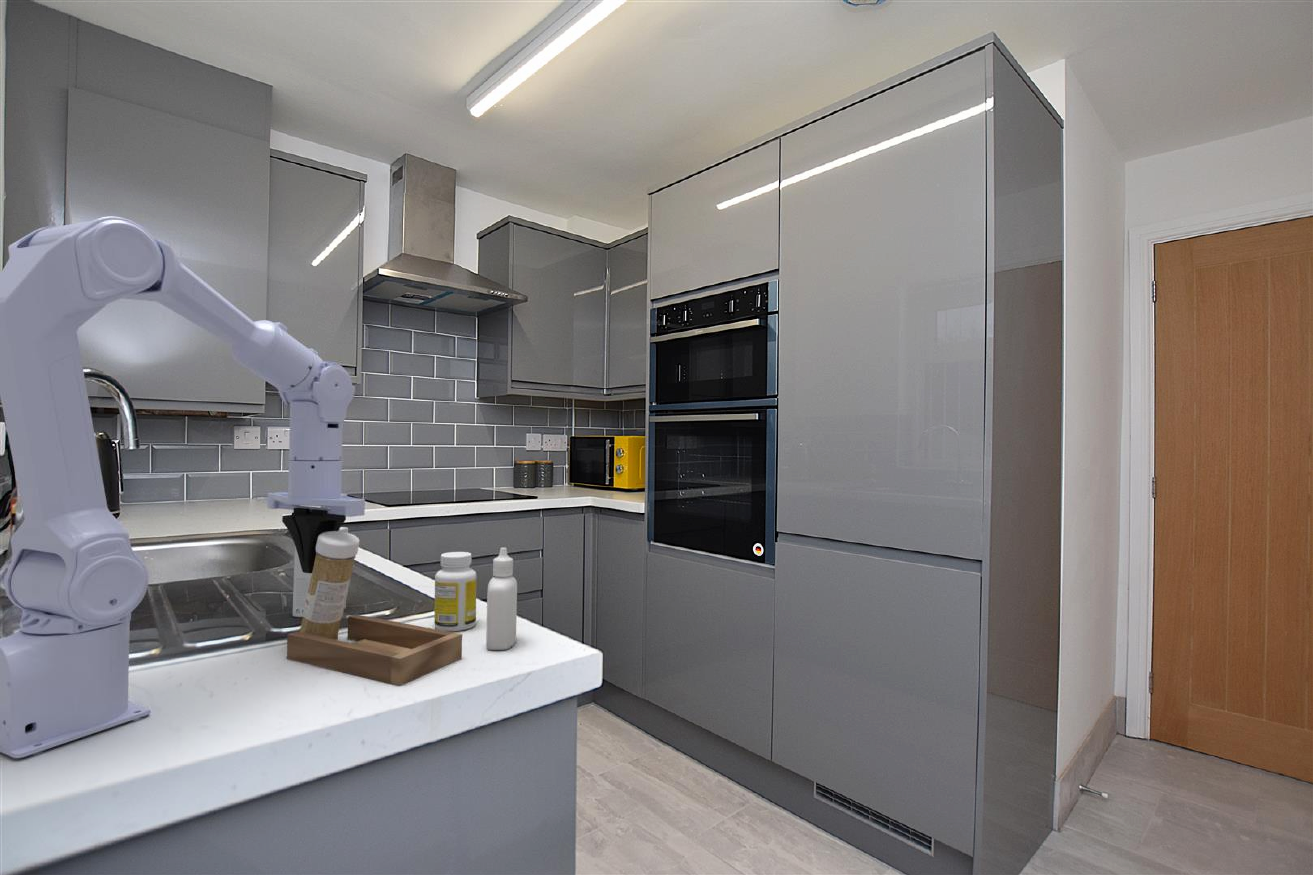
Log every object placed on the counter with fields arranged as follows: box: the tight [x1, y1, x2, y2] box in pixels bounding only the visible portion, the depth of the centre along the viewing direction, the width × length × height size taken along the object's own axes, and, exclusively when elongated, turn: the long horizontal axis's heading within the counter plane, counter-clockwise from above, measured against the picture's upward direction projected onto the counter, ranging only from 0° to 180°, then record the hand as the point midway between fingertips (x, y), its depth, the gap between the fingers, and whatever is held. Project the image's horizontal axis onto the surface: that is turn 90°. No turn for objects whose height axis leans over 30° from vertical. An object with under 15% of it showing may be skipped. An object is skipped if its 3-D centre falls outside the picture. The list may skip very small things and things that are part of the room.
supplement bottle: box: [434, 551, 477, 632], centre depth 88 cm, size 5×5×10 cm
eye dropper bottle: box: [485, 547, 518, 651], centre depth 81 cm, size 4×6×12 cm
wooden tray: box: [286, 614, 463, 686], centre depth 75 cm, size 9×17×3 cm, turn 66°
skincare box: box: [292, 526, 349, 618], centre depth 93 cm, size 6×4×12 cm
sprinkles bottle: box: [299, 531, 360, 640], centre depth 78 cm, size 5×5×14 cm
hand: (313, 571), depth 79 cm, fingers closed
